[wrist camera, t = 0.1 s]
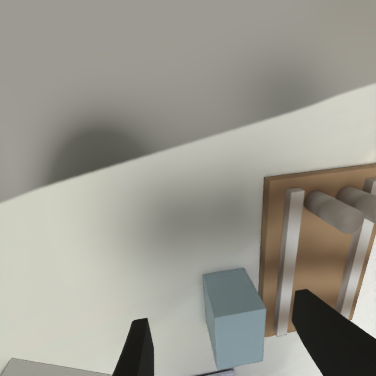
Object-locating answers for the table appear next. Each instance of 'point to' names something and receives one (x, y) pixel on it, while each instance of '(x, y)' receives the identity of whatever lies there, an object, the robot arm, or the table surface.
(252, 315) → the panel block
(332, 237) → the boss board
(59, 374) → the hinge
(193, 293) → the table surface
